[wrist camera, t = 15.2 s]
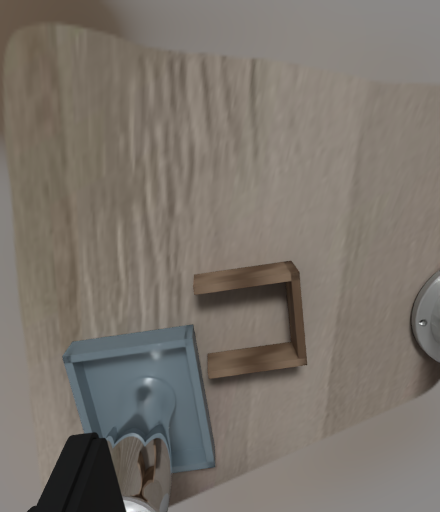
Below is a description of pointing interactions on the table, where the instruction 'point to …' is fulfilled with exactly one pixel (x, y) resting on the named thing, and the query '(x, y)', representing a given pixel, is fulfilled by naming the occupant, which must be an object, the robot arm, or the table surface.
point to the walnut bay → (262, 355)
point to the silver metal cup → (143, 445)
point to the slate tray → (137, 366)
